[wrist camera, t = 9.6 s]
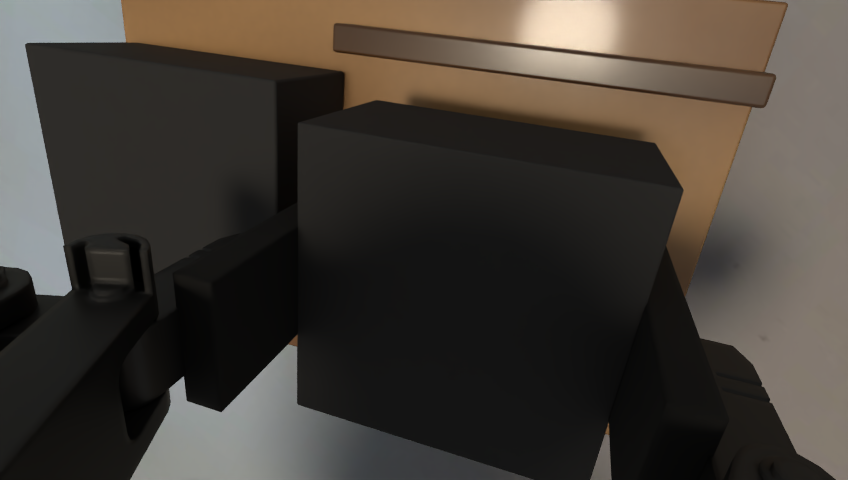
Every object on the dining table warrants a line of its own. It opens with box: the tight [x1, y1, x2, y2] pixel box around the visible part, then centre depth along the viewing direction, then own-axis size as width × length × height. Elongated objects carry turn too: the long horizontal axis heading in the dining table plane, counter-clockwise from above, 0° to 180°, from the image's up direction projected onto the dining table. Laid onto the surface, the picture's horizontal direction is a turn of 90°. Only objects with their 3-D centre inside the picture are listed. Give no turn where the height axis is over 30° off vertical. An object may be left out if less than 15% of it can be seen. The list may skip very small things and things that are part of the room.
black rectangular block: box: [297, 100, 684, 480], centre depth 12 cm, size 7×7×4 cm
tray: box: [121, 0, 788, 435], centre depth 17 cm, size 14×20×2 cm
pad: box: [25, 43, 344, 274], centre depth 17 cm, size 8×8×4 cm
